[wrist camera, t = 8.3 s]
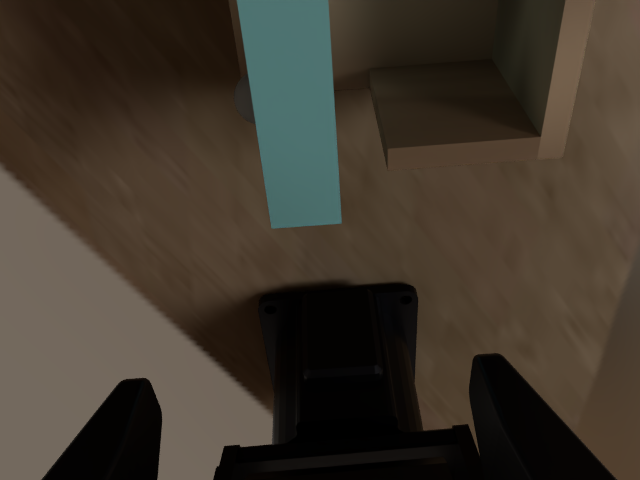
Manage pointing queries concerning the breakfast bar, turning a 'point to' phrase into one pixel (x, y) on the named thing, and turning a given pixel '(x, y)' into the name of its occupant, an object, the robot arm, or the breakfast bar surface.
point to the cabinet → (459, 74)
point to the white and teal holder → (292, 107)
